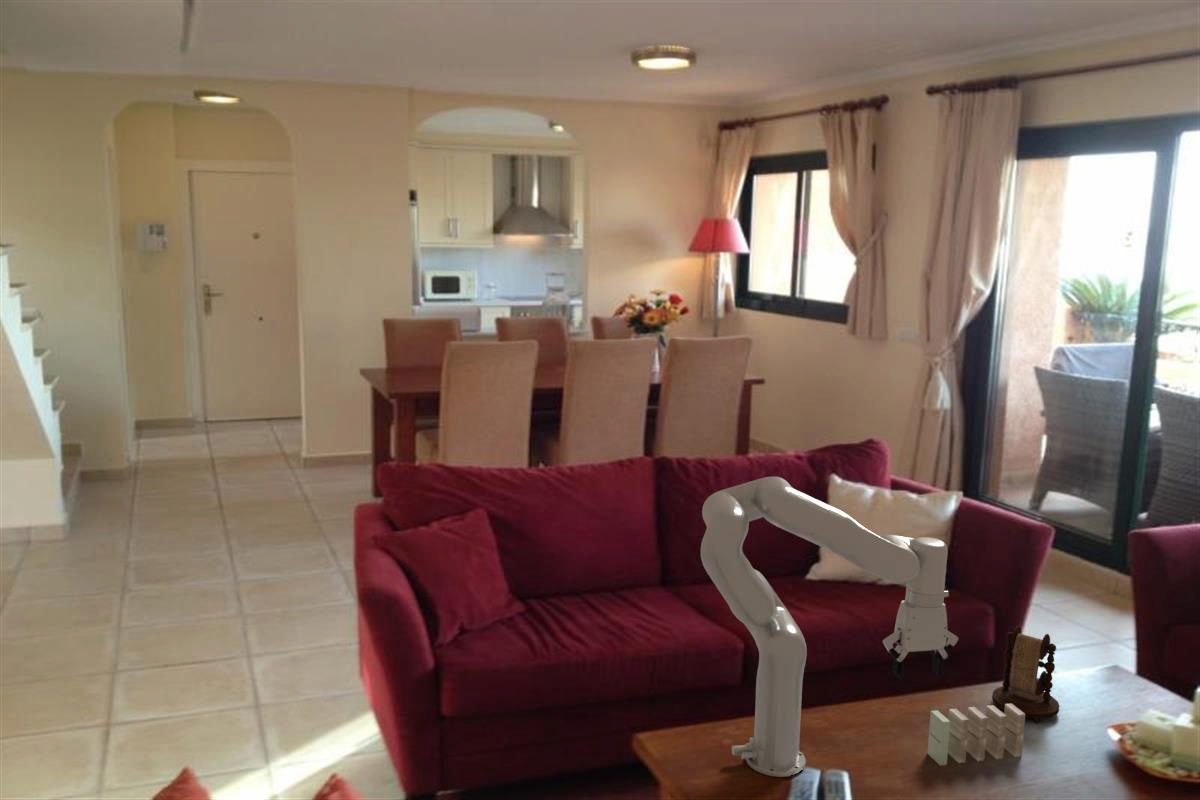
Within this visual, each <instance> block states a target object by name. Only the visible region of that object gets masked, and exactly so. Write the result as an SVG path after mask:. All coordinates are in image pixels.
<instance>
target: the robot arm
mask: <svg viewBox="0 0 1200 800" xmlns="http://www.w3.org/2000/svg"><path fill="white" fill-rule="evenodd" d="M701 514H702V520H703V521H704V523H705V525H706V529H705V532H704V535H703V537H702V540H701V545H700V559H701V563H702V565H703V568H704V569H705V571H706V573H707V575H708V576H709V578H710V579H711V581H712V582H713V584H714V585H715V587H716V589H717V590H718V592H719V593H720V594H721V596H722V597H723V599H724V600H725V601H726V603H727V604H728V607H729V608H730V610H731V612H732V614H733V615H734V616H735V617H736V619H738V620H739V622H741V623H742V624H744V626H745V627H746V628H747V630H748V632H750V634H751V636H752V638H753V639H754V642H755V645H756V647H757V649H758V653H759V657H758V658H759V660H758V667H757V672H756V673H757V674H756V682H755V683H756V684H755V708H754V710H755V711H754V730H753V731H754V732H753V737H749V742H746V743H745V744H742V745H741V744H738V745H731V753H732V755H733V756H738V755H740V757H741V760H745V762H746V764H747V765H748V766H749V767H750V768H752V770H754V771H755V772H758V773H760V774H762V775H766V776H770V777H776V778H786V777H787V778H788V777H792V776H791V775H792V773H793V771H794V770H795V769H797V768H804V767H805V768H806V763H807V759H806V757H805V755H804V754H803V752H801V751H800V736H801V734H800V733H801V719H802V718H801V717H802V716H801V714H802V698H803V697H802V694H803V693H802V692H803V681H804V680H803V679H804V673H805V667H806V661H807V656H808V655H807V654H808V653H807V651H808V650H807V644H806V640H805V637H804V635H803V632H802V631H801V629H800V627H799V626H798V624H797V622H796V621H795V620H794V618H793V617H792V614H791V613H790V612H789V610H788V608H787V607H786V606H785V605H784V603H783V602H782V600H781V599H780V597H779V596H778V594H777V593H776V592H775V590H774V589H773V587H772V586H771V585H770V583H769V582H768V580H767V579H766V578H765V576H764V575H763V574H762V573H761V572H760V571H759V570H756V569H755V568H754V567H753V566H752V564H751V563H750V561H749V559H748V558H747V557H746V556H745V553H744V551H743V545H744V541H745V539H746V537H747V535H748V532H749V526H750V522H753V521H755V520H759V519H761V518H764V519H765V521H767V522H769V523H770V524H771V525H774V526H775V527H777V528H780V529H781V530H784V531H786V532H788V533H790V534H793V535H795V536H796V537H800V538H801V539H804V540H806V541H808V542H811V543H813V544H815V545H817V546H819V547H820V548H823V549H825V550H826V551H828V552H830V553H832V554H834V555H835V556H837V557H839V558H841V559H843V560H845V561H847V562H849V563H850V564H853V565H854V566H856V567H857V568H860V569H862V570H863V571H865V572H867V573H869V574H871V575H874V576H876V577H879V578H880V579H882V580H885V581H887V582H890V583H892V584H895V585H896V584H897V585H905V584H906V586H905V588H906V589H905V597H904V598H905V599H904V600H901V601H900V604H899V608H898V610H897V615H896V619H895V624H894V631H893V633H891V634H890V635H888V636H887V637H885V638H884V639H882V644H883V646H884V647H885V648H886V651H887V652H888V654H890V655H891V656H892V657H893V662H892V663H893V664H892V673H893V674H894V675H895V677H897V678H898V679H899V680H900V681H901V680H904V678H905V670H906V662H905V661H904V660H905V658H906V657H907V655H908V654H909V652H928V651H934V653H933V655H932V659H931V661H932V662H931V671H932V673H933V674H935V675H936V676H937V677H939V678H940V677H943V671H944V670H945V659H948V658H949V657H948V655H949V653H951V652H952V651H953V650H954V646H955V645H956V644H957V643H958V641H959V637H958V636H957V635H956V634H954V633H953V632H951V631H949V630H948V615H947V607H946V603H944V601H945V598H948V597H949V596H950V595H949V591H948V590H945V586H946V585H945V584H946V575H947V562H948V561H947V560H948V545H947V543H945V542H944V541H943V540H940V539H938V538H935V537H929V536H928V537H926V536H925V537H923V536H922V537H909V536H908V537H907V536H901V535H897V534H888V533H887V534H880V535H877V534H876V533H874V532H872V531H871V530H869V529H868V528H866V527H864V526H863V525H861V524H860V523H859V522H858V521H856V520H855V519H854V518H852V516H850V515H849V514H847V513H846V512H844V511H842V510H841V509H839V508H837V507H834V506H833V505H830V504H828V503H825V502H823V501H821V500H820V499H817V498H814V496H813V497H812V496H810V495H809V494H807V493H804V492H802V491H800V490H797V489H795V488H794V487H793V486H792V485H791V484H790V483H789V482H788V481H787V480H786V479H784V478H782V477H780V476H766V477H762V478H757V479H754V480H752V481H747V482H743V483H741V484H738V485H734V486H731V487H728V488H725V489H721V490H718V491H716V492H714V493H712V494H711V495H709V496H708V497H707V498H706V500H704V503H703V505H702V509H701ZM894 644H897V645H896V646H895V648H894V646H893V645H894ZM805 768H804V769H805Z"/></svg>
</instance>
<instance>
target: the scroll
mask: <svg viewBox="0 0 1200 800" xmlns="http://www.w3.org/2000/svg"><path fill="white" fill-rule="evenodd" d="M1005 637H1006V639H1007V640H1006V642H1007V643H1006V647H1005V648H1006V650H1005V651H1004V653H1003V657H1004V658H1005V663H1004V669H1003V671H1002V672H1003V673H1002V674H1003V675H1004V676H1003V679H1004V680H1003V682H1002V686H999V687H997V688H996V689H994V690H993V691H992V695H991V698H992V699H991V701H992V702H993V704H994V706H995V707H996V708H998V709H999V710H1000V709H1001V710H1002V711H1004V710H1005V704H1010V703H1012V704H1013V705H1014V706H1016V707H1017V708H1018V709H1019V710H1021V711H1022V712H1023V713H1025V719H1026V718H1027V719H1035V722H1036V723H1037V724H1040V722H1041V719H1049V718H1053V717H1055V716H1057V715H1058V714H1059V711H1060V703H1059V701H1058V700H1057V699H1056V698H1055V697H1053V696H1052V695H1051V692H1052V690H1051V689H1052V688H1053V683H1052V681H1053V675H1052V674H1053V672H1054V671H1055V669H1056V664H1055V663H1054V662H1055V657H1054V655H1055V654H1056V653H1055V652H1056V651H1057V646H1056V644H1054V643H1051V636H1050V634H1048V633H1045V634H1044V636H1043V638H1038V637H1034V636H1031V635H1027V634H1023V633H1022V628H1021V626H1019V625H1017V626H1016V627H1014V630H1013V632H1012V631H1008V632H1007V633H1006V636H1005ZM1046 656H1047V658H1046V661H1047V662H1044V661H1042V660H1044V658H1045V657H1046ZM1039 668H1044V669H1045V670H1043V671H1042V672H1040V673H1041V674H1040V675H1039V677H1038V673H1039Z"/></svg>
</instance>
